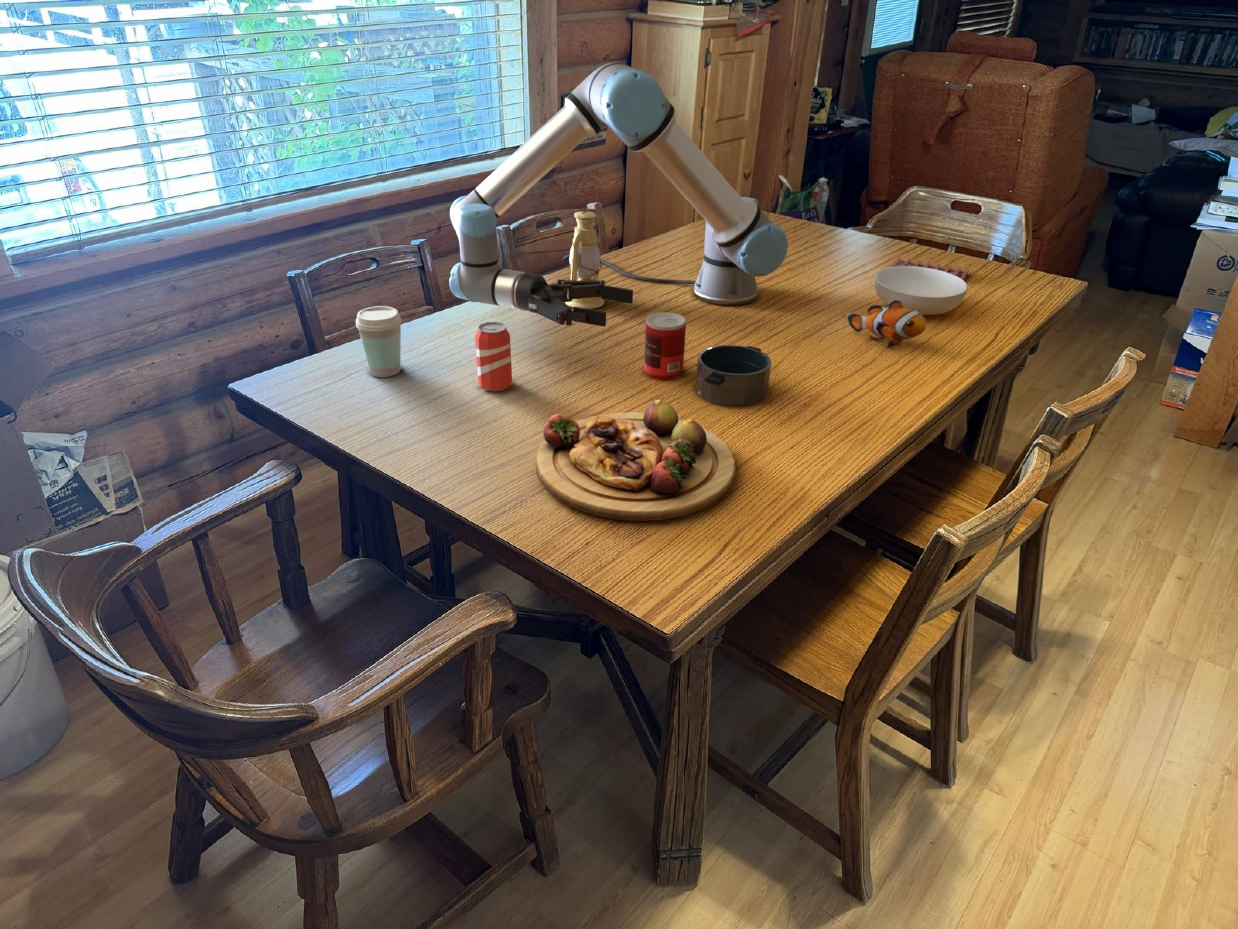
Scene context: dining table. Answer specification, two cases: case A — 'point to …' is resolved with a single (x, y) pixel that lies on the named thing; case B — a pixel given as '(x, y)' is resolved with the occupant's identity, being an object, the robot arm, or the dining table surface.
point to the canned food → (664, 345)
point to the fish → (889, 322)
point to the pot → (734, 375)
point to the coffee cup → (381, 339)
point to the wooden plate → (634, 464)
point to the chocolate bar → (932, 267)
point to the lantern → (585, 254)
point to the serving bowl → (920, 288)
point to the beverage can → (493, 356)
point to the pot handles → (719, 379)
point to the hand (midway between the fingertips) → (619, 307)
